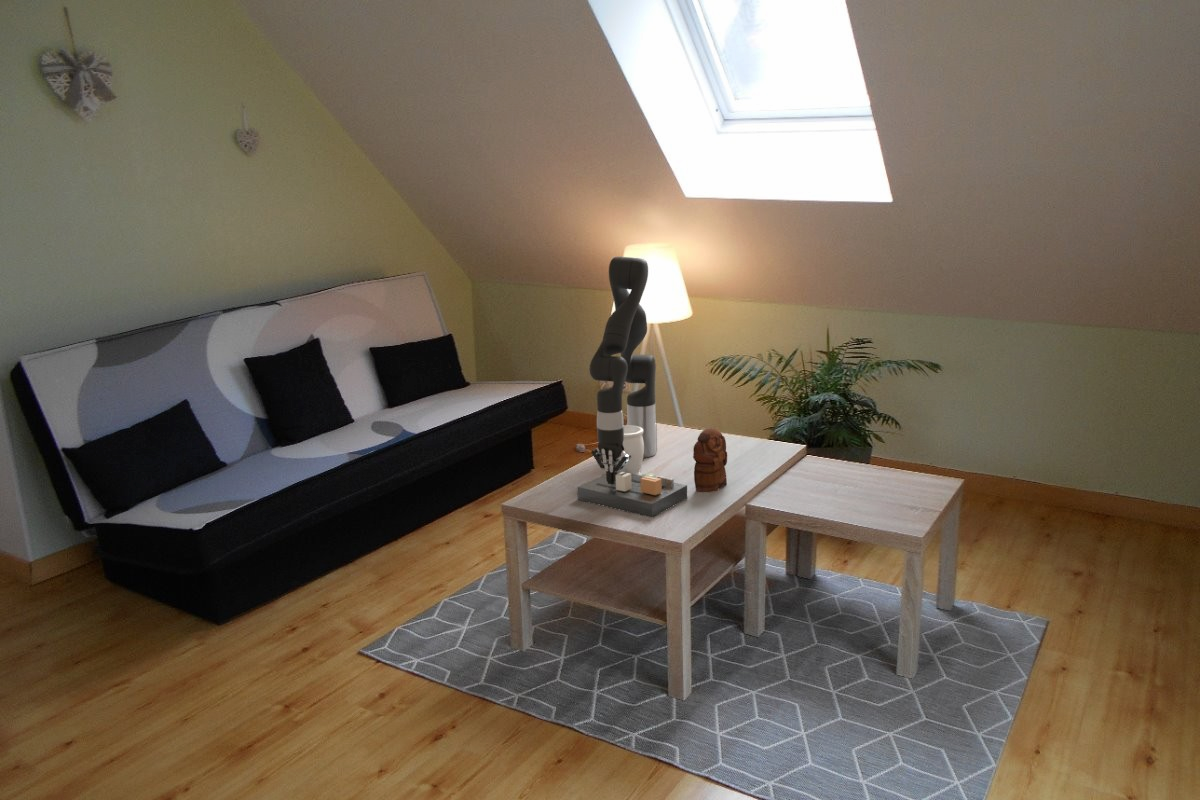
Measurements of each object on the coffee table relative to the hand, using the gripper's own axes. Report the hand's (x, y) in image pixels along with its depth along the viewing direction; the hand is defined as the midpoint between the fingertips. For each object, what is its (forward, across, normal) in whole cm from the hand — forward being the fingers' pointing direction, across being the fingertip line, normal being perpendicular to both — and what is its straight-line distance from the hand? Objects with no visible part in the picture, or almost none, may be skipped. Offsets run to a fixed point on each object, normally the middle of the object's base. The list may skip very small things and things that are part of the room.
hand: (611, 483), depth 288 cm
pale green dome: (+1, -7, -9) cm, 11 cm away
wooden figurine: (+6, -18, -25) cm, 32 cm away
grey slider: (+1, +4, -8) cm, 9 cm away
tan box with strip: (+1, -12, -2) cm, 12 cm away
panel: (+5, -4, -4) cm, 8 cm away
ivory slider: (+1, -4, 0) cm, 4 cm away
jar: (+6, +9, -20) cm, 23 cm away
